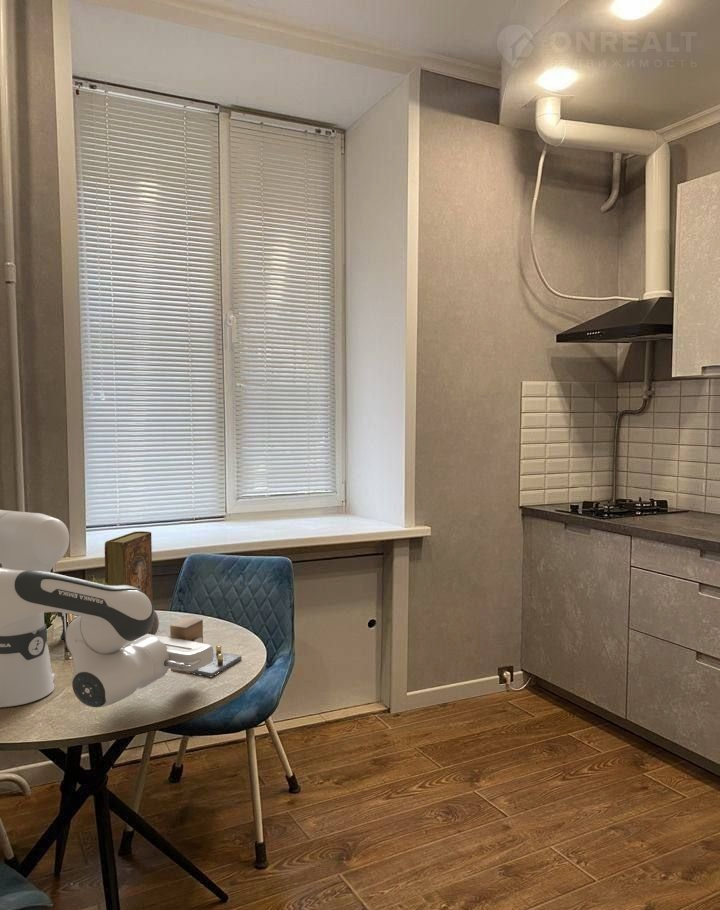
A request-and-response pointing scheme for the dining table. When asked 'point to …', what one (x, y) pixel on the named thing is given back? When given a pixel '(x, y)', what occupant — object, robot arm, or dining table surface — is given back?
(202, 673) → the pin plate
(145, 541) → the book
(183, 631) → the board block
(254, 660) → the dining table surface
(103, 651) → the robot arm
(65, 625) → the battery charger
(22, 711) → the dining table surface
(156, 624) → the vase
